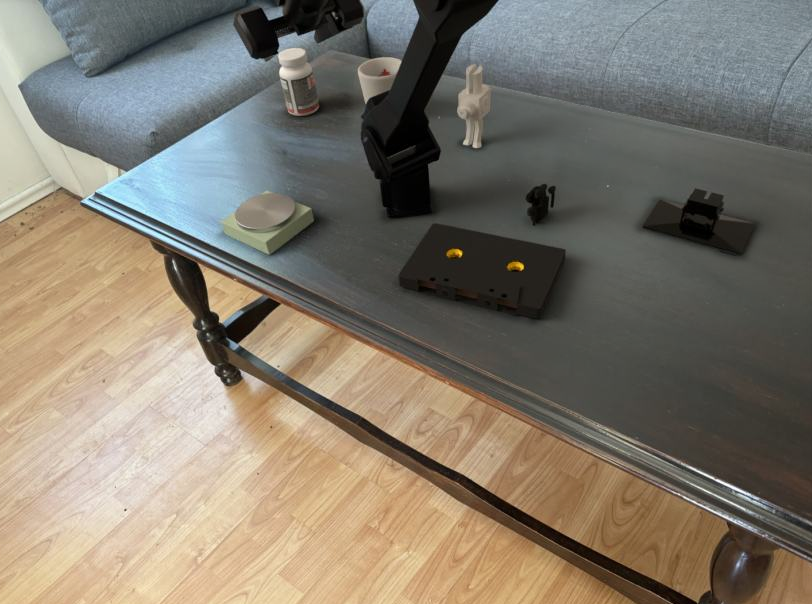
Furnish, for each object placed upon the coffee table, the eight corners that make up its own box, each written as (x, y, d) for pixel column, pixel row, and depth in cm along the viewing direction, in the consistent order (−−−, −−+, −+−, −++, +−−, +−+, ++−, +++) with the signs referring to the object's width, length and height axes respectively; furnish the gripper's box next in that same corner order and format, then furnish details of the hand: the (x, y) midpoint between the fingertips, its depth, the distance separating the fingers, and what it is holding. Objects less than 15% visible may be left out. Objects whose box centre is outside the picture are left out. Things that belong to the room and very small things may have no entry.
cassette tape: (398, 287, 82) (397, 274, 80) (434, 234, 89) (433, 221, 87) (539, 321, 76) (540, 307, 74) (565, 261, 83) (566, 247, 81)
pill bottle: (324, 102, 118) (313, 46, 111) (313, 118, 115) (302, 61, 107) (294, 101, 120) (282, 46, 112) (283, 116, 116) (270, 60, 109)
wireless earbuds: (530, 234, 87) (533, 202, 84) (514, 228, 88) (516, 196, 85) (556, 208, 91) (559, 176, 87) (540, 202, 92) (543, 171, 88)
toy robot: (496, 133, 106) (498, 59, 98) (473, 156, 102) (473, 80, 93) (475, 128, 108) (475, 55, 99) (451, 150, 104) (449, 75, 95)
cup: (427, 100, 116) (424, 55, 110) (423, 123, 110) (420, 76, 105) (367, 102, 117) (361, 57, 111) (360, 124, 112) (354, 78, 106)
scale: (271, 202, 97) (266, 184, 95) (315, 220, 93) (311, 202, 91) (225, 234, 93) (218, 216, 90) (269, 255, 88) (264, 237, 86)
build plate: (754, 226, 85) (765, 195, 82) (739, 257, 81) (750, 227, 78) (659, 200, 90) (666, 171, 87) (640, 229, 86) (647, 199, 83)
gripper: (341, -86, 90) (316, -14, 105) (217, -52, 83) (210, 20, 98) (380, -13, 91) (350, 49, 105) (261, 27, 84) (247, 86, 99)
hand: (291, 49), depth 102 cm, fingers open, 9 cm apart
